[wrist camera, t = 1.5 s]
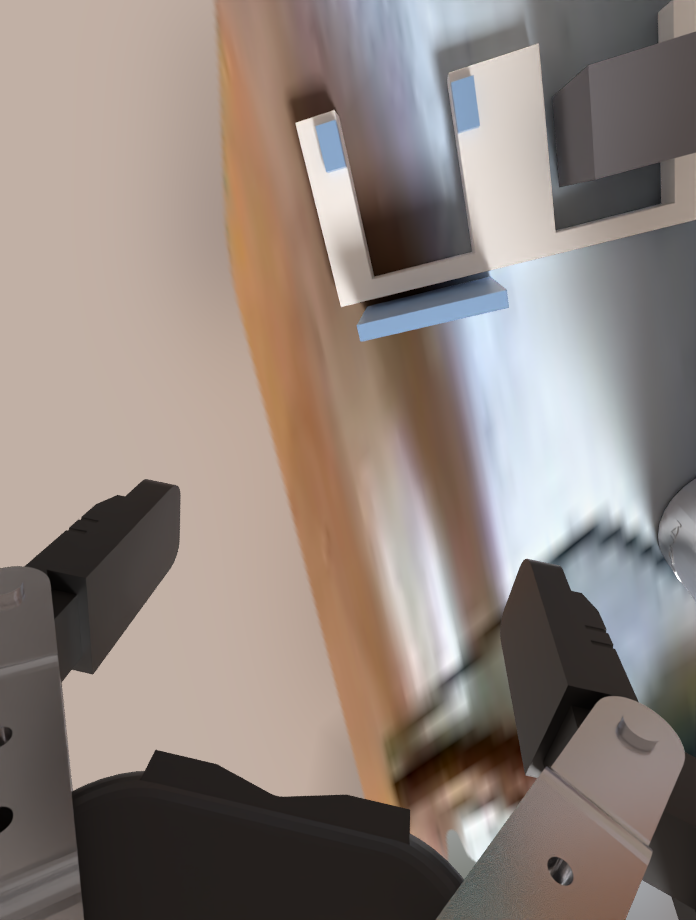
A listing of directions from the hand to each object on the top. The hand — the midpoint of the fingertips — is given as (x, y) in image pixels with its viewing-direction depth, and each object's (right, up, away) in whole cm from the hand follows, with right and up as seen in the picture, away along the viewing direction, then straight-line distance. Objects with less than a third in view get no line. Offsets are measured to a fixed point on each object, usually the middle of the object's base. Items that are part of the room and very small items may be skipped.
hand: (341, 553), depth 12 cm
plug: (+12, +18, +14) cm, 26 cm away
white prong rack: (+8, +16, +15) cm, 24 cm away
